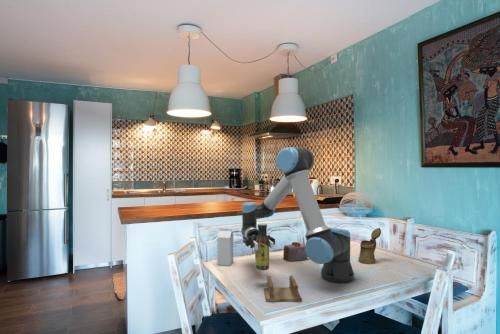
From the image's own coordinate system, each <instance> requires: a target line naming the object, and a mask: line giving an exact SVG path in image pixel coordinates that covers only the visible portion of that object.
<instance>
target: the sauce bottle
mask: <svg viewBox="0 0 500 334" xmlns="http://www.w3.org/2000/svg"><path fill="white" fill-rule="evenodd" d="M267 228H268V224H267V223H258V224H257V229H258V236H257V238H256V242H257V243H258V250H256V249H255V248H254V249H255V251H254V252H255V253H254V254H255V255H254V257H255V259H254V261H255V262H254V263H255V269H256V270H259V271H267V270H269V269H270V247H269V238H268V235H267Z"/></svg>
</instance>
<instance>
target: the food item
mask: <svg viewBox="0 0 500 334" xmlns="http://www.w3.org/2000/svg"><path fill="white" fill-rule="evenodd" d="M305 245H306V243H301V242H297V241H294V242H292V243H291V244H287V245H286V244H285V245H284V246H283V253H282V254H283V257H282V259H283V260H284V261H285V262H288V263H289V262H295V261H297V262H300V261H303V260H307V258H308V259H309V257H308V256H307V254H306V252H305Z"/></svg>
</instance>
